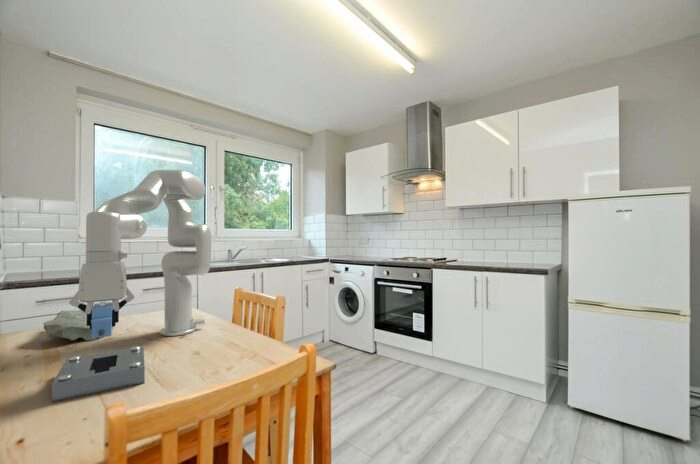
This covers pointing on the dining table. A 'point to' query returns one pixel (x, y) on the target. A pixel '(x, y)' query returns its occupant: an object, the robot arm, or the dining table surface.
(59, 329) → the stone
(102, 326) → the servo
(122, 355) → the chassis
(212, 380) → the dining table surface
